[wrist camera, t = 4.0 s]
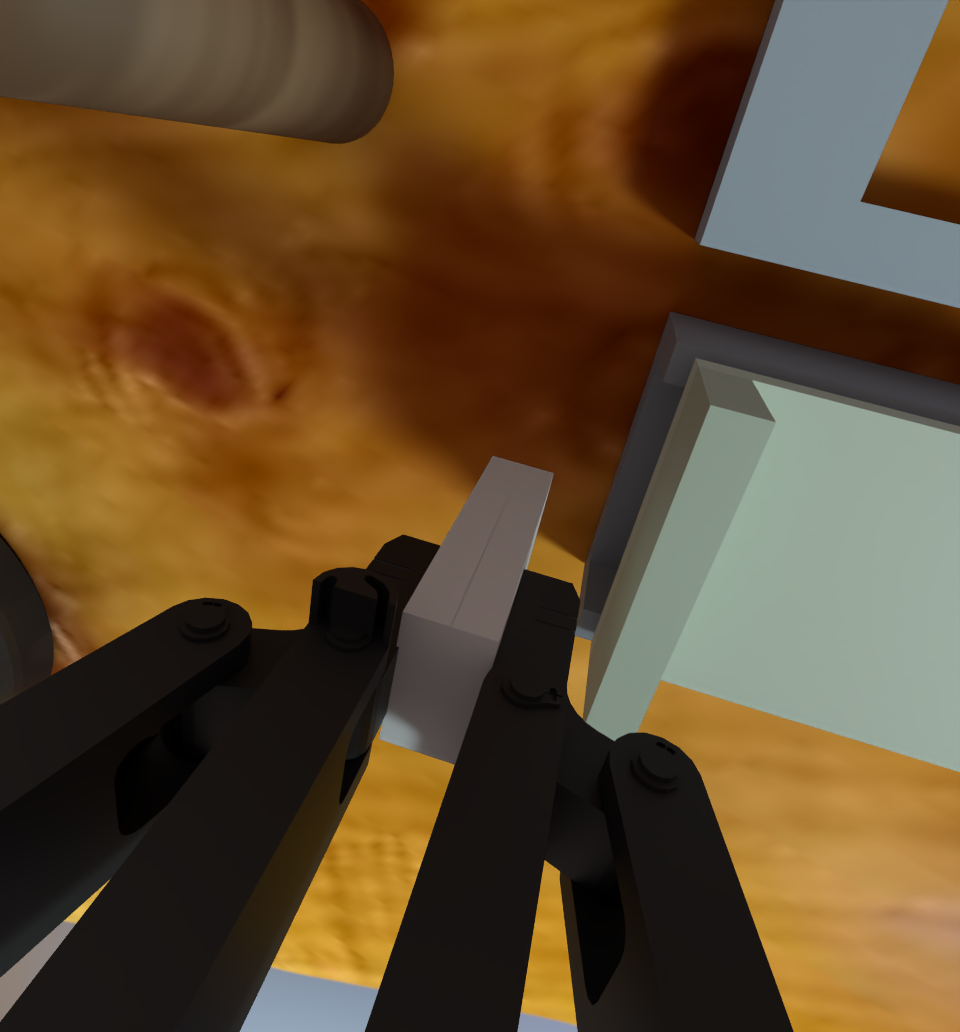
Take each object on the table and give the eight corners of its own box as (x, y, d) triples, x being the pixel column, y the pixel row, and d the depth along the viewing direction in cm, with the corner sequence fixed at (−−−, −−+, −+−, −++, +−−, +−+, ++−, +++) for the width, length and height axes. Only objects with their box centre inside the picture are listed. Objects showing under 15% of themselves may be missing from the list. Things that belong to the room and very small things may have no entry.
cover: (591, 641, 20) (581, 734, 16) (696, 357, 15) (710, 405, 12) (975, 758, 18) (1048, 883, 15) (1195, 487, 14) (1361, 577, 11)
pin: (269, 128, 20) (-161, 60, 9) (276, -23, 18) (-243, -321, 7) (384, 156, 19) (75, 119, 9) (402, 4, 18) (47, -267, 7)
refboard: (584, 564, 24) (574, 635, 20) (670, 311, 19) (677, 341, 16) (927, 664, 23) (984, 760, 19) (1098, 420, 18) (1216, 480, 15)
